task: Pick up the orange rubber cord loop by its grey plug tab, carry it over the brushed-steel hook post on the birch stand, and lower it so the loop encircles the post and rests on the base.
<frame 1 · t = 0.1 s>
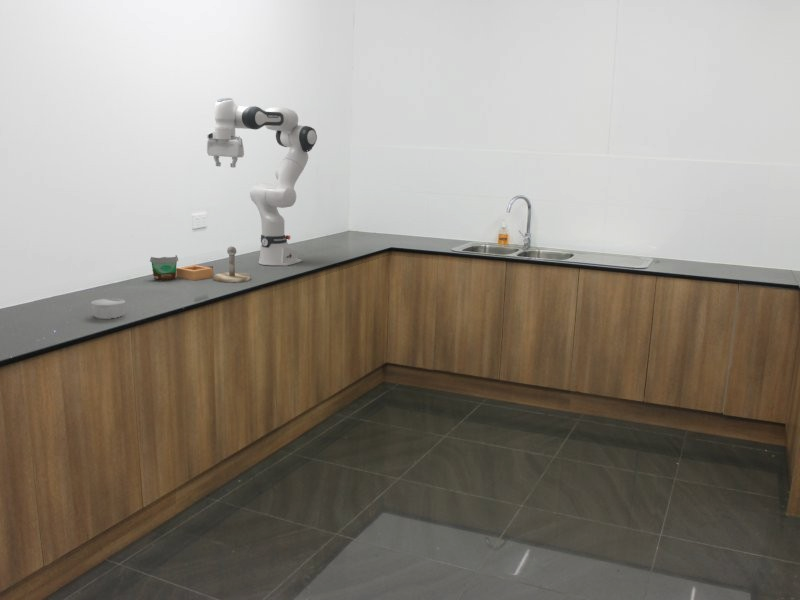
hand: (225, 166, 351), 48 cm above the worktop, fingers open, 8 cm apart
hook stand: (232, 279, 344), on the worktop
food container: (167, 280, 338), on the worktop
cord loop: (194, 277, 346), on the worktop
ramekin: (108, 316, 272), on the worktop
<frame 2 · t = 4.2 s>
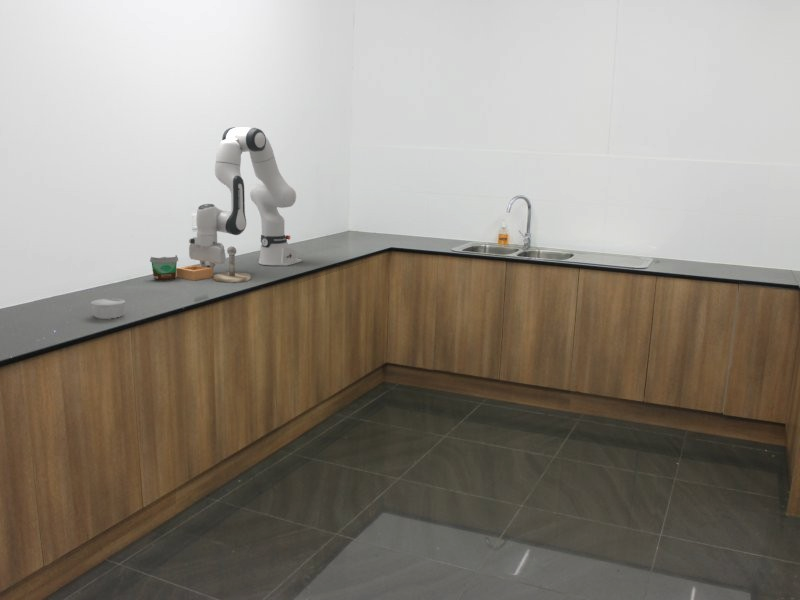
hand: (207, 271, 351), 2 cm above the worktop, fingers closed on cord loop, 3 cm apart
cord loop: (194, 277, 346), on the worktop, touching gripper
everything else where it was.
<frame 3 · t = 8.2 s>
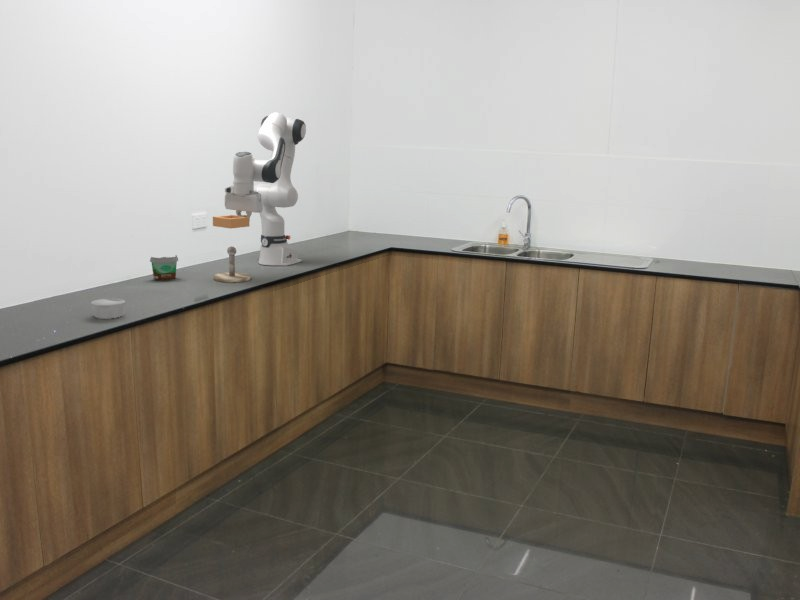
hand: (243, 221, 345), 25 cm above the worktop, fingers closed on cord loop, 3 cm apart
cord loop: (231, 226, 339), point 23 cm above the worktop, touching gripper
everything else where it was.
when the fingers open (5 cm above the worktop, at t = 12.2 s): cord loop drops 2 cm, resting on hook stand.
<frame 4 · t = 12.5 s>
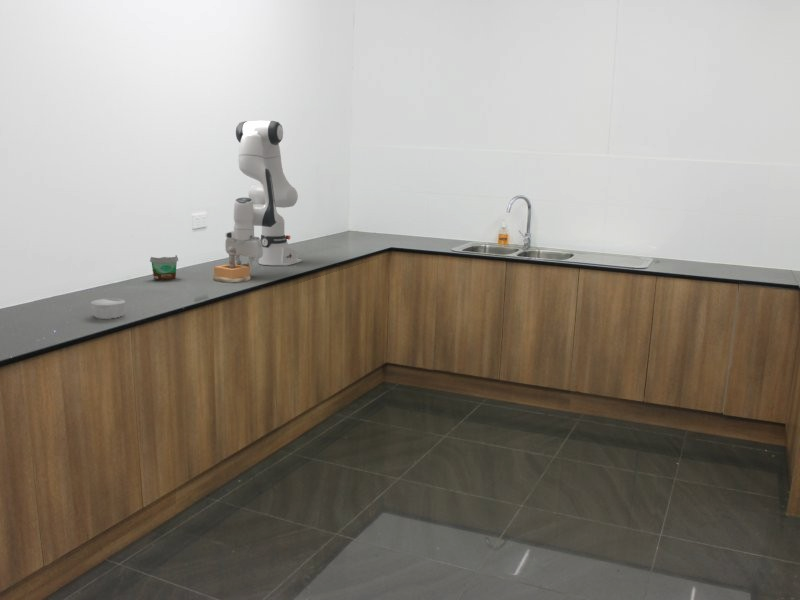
hand: (244, 265, 349), 5 cm above the worktop, fingers open, 5 cm apart
cord loop: (232, 275, 344), point 1 cm above the worktop, touching hook stand
everything else where it was.
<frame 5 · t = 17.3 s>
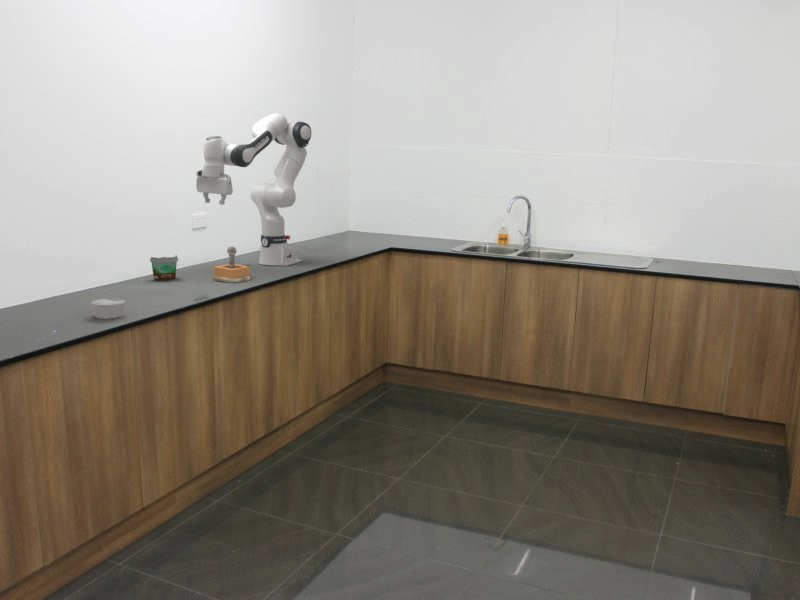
hand: (214, 203, 355), 31 cm above the worktop, fingers open, 8 cm apart
nothing on the worktop moved.
at the end: cord loop 0.1 cm off-centre on the hook stand, point 1.5 cm above the hook stand's base; the gripper is holding nothing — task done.
